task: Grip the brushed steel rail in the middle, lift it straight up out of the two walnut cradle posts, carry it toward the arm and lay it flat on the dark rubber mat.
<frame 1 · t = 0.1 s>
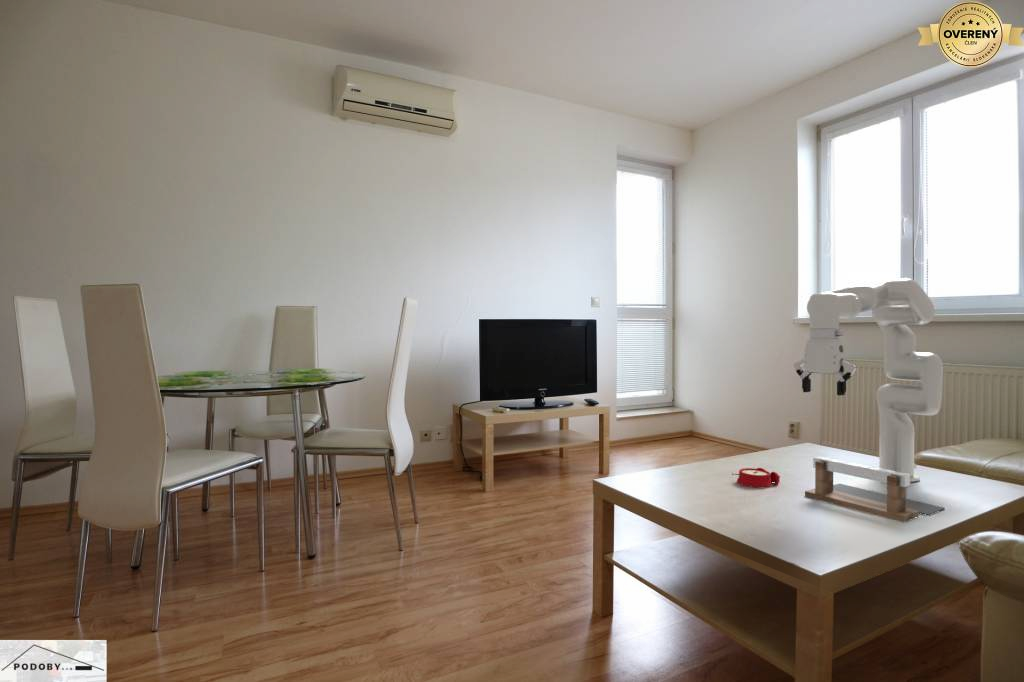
hand: (823, 393, 157), 31 cm above the table, tool pointing down, fingers open, 9 cm apart
alarm clock: (758, 484, 174), on the table
walnut rail stand: (858, 505, 151), on the table
steel rail: (858, 475, 151), point 8 cm above the table, touching walnut rail stand
rubber mat: (879, 499, 157), on the table
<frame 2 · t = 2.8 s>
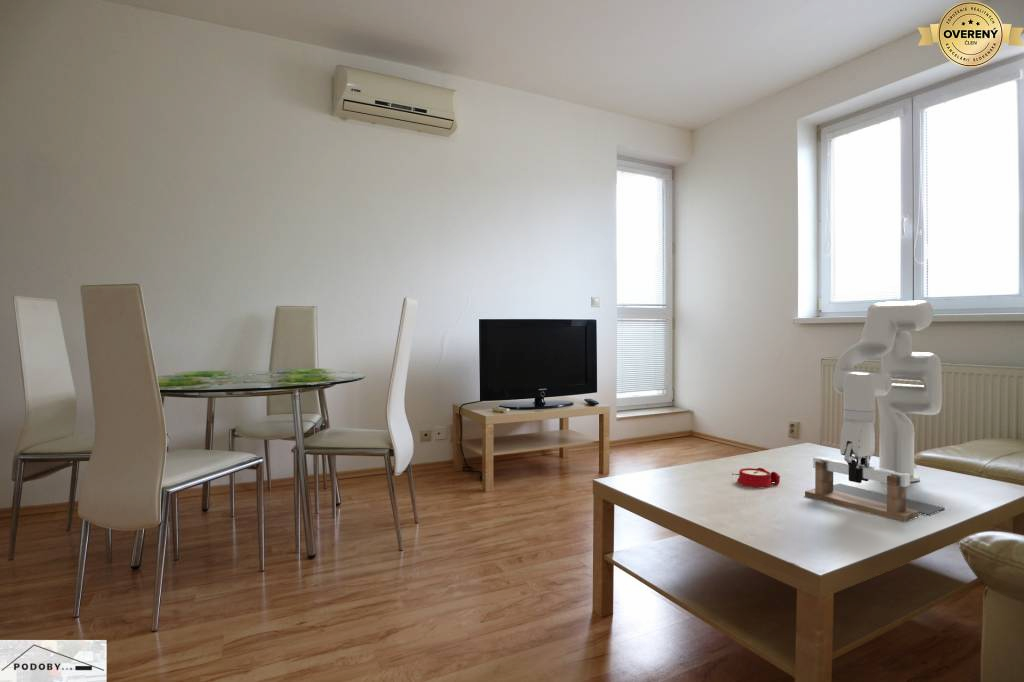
hand: (858, 480, 151), 7 cm above the table, tool pointing down, fingers closed on steel rail, 3 cm apart
steel rail: (858, 475, 151), point 9 cm above the table, touching gripper, walnut rail stand
everything else where it was.
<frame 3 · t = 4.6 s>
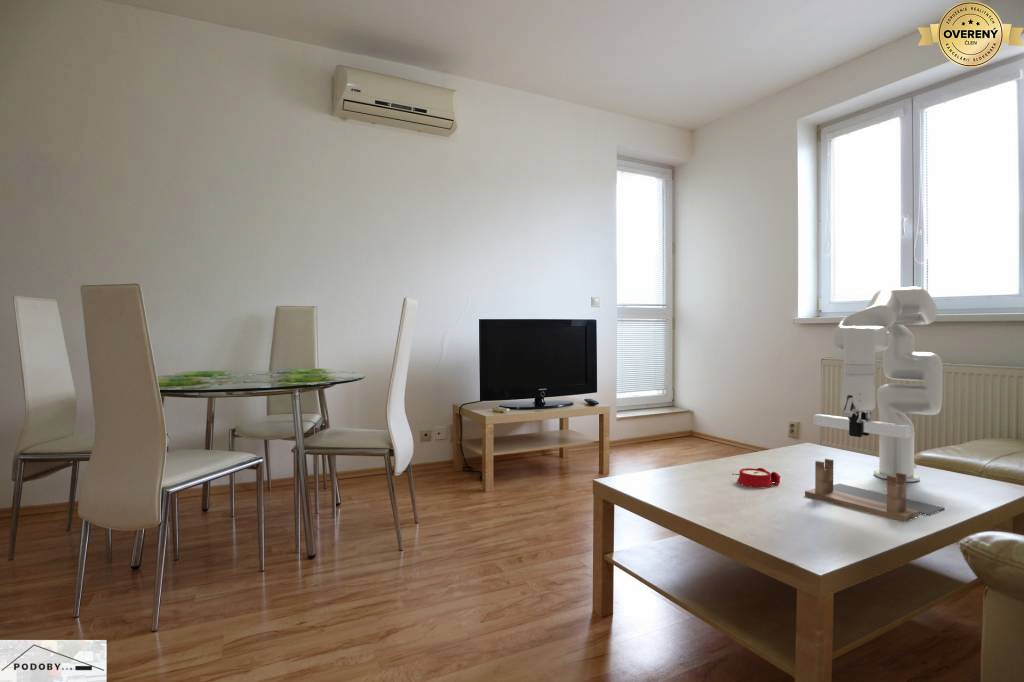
hand: (859, 435, 151), 20 cm above the table, tool pointing down, fingers closed on steel rail, 3 cm apart
steel rail: (859, 430, 151), point 21 cm above the table, touching gripper
everything else where it was.
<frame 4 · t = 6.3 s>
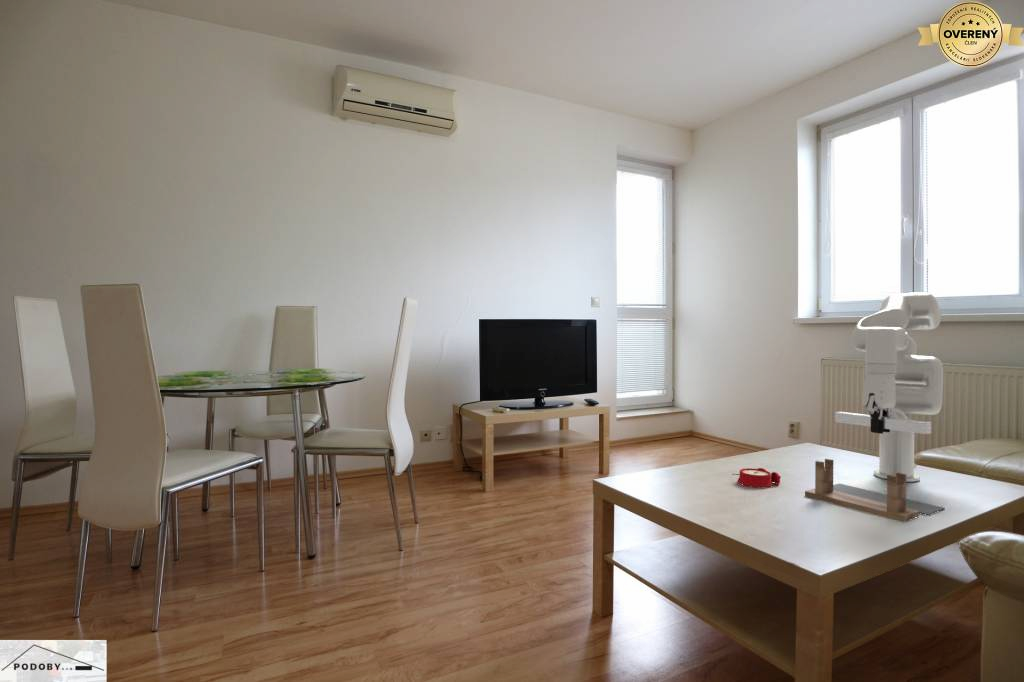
hand: (880, 431, 157), 20 cm above the table, tool pointing down, fingers closed on steel rail, 3 cm apart
steel rail: (880, 427, 157), point 21 cm above the table, touching gripper
everything else where it was.
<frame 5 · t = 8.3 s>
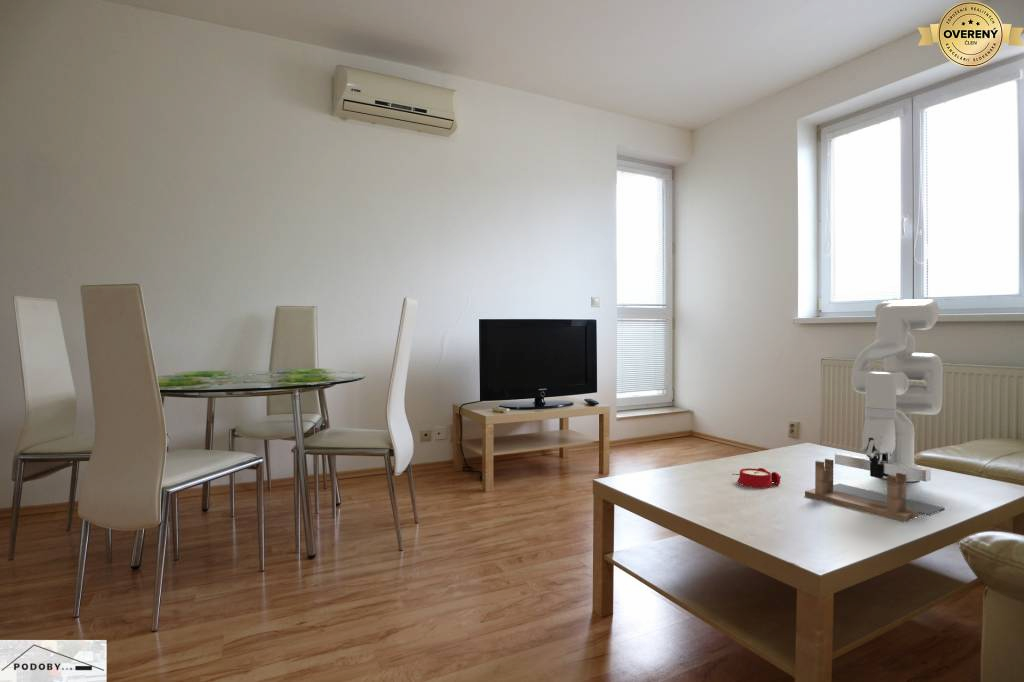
hand: (879, 475, 157), 7 cm above the table, tool pointing down, fingers closed on steel rail, 3 cm apart
steel rail: (879, 471, 157), point 8 cm above the table, touching gripper
everything else where it was.
when the fingers open (1 cm above the table, at t = 9.8 s): steel rail drops 2 cm, resting on rubber mat.
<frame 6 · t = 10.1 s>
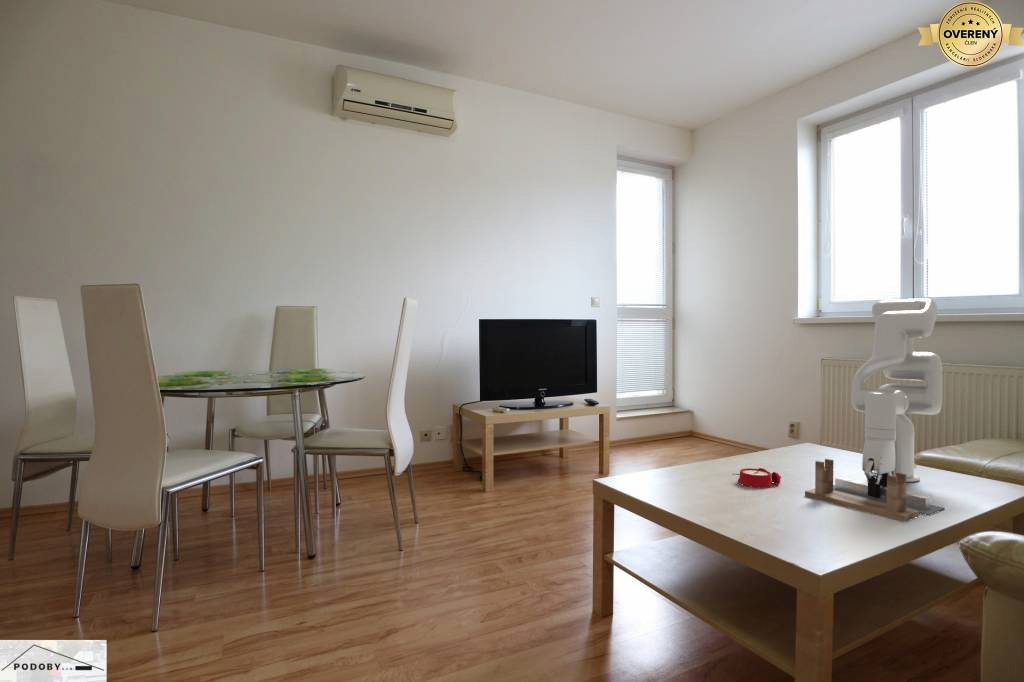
hand: (879, 494, 157), 1 cm above the table, tool pointing down, fingers open, 5 cm apart
steel rail: (879, 497, 157), resting on rubber mat
everything else where it was.
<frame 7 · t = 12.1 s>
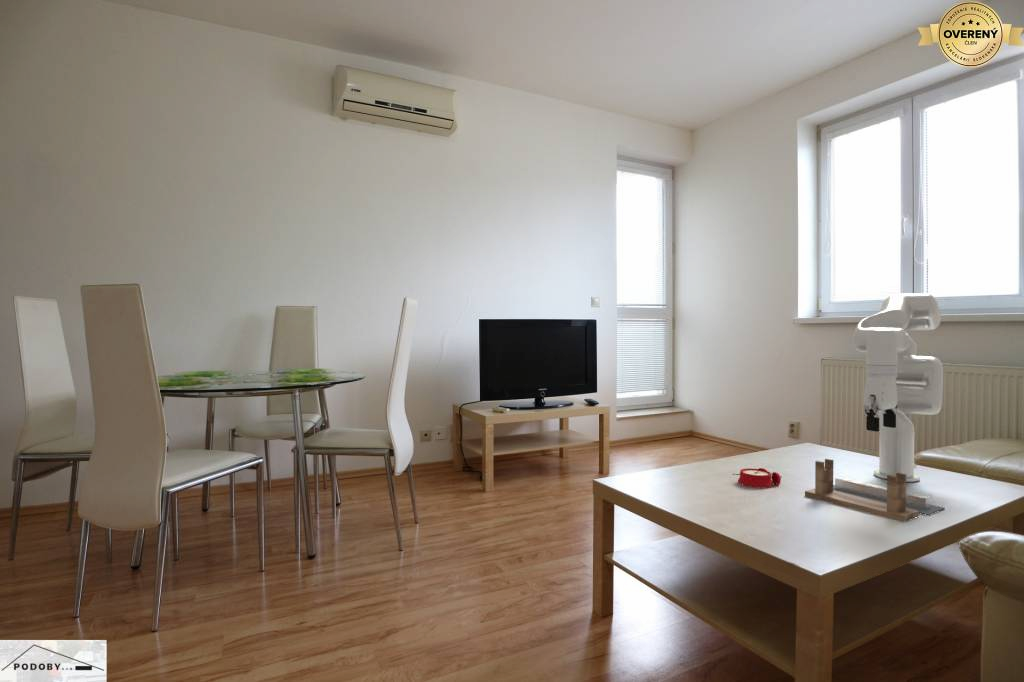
hand: (881, 428, 157), 21 cm above the table, tool pointing down, fingers open, 9 cm apart
nothing on the table moved.
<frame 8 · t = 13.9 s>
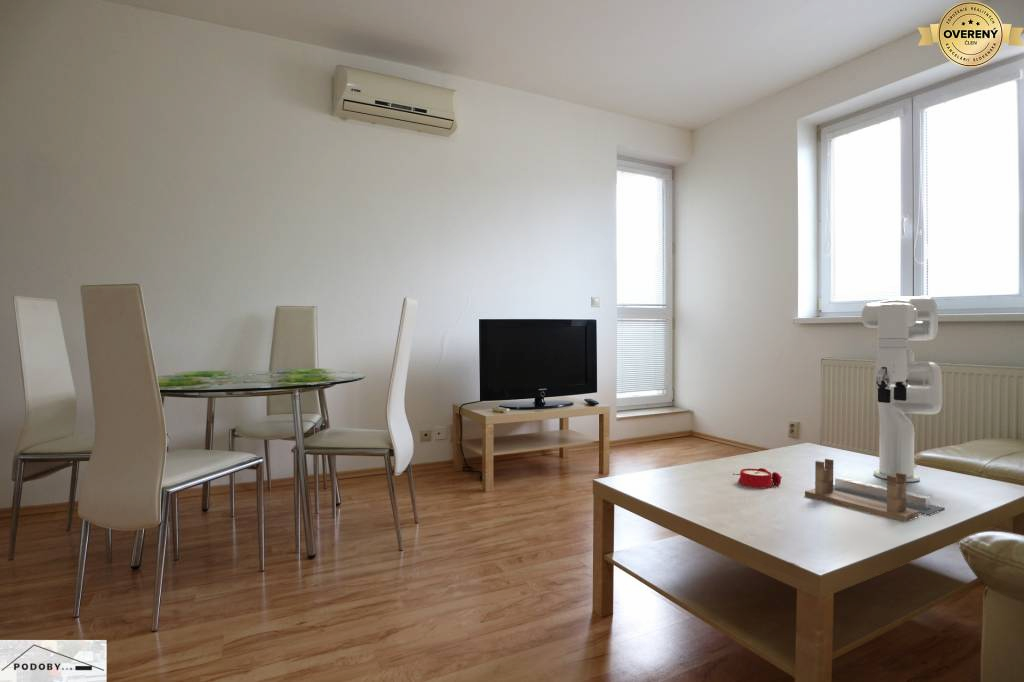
hand: (892, 401, 160), 28 cm above the table, tool pointing down, fingers open, 9 cm apart
nothing on the table moved.
at the end: steel rail inside the target area on the rubber mat (0.1 cm from its centre), point 0.5 cm above the rubber mat's base; the gripper is holding nothing; steel rail touching rubber mat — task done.
